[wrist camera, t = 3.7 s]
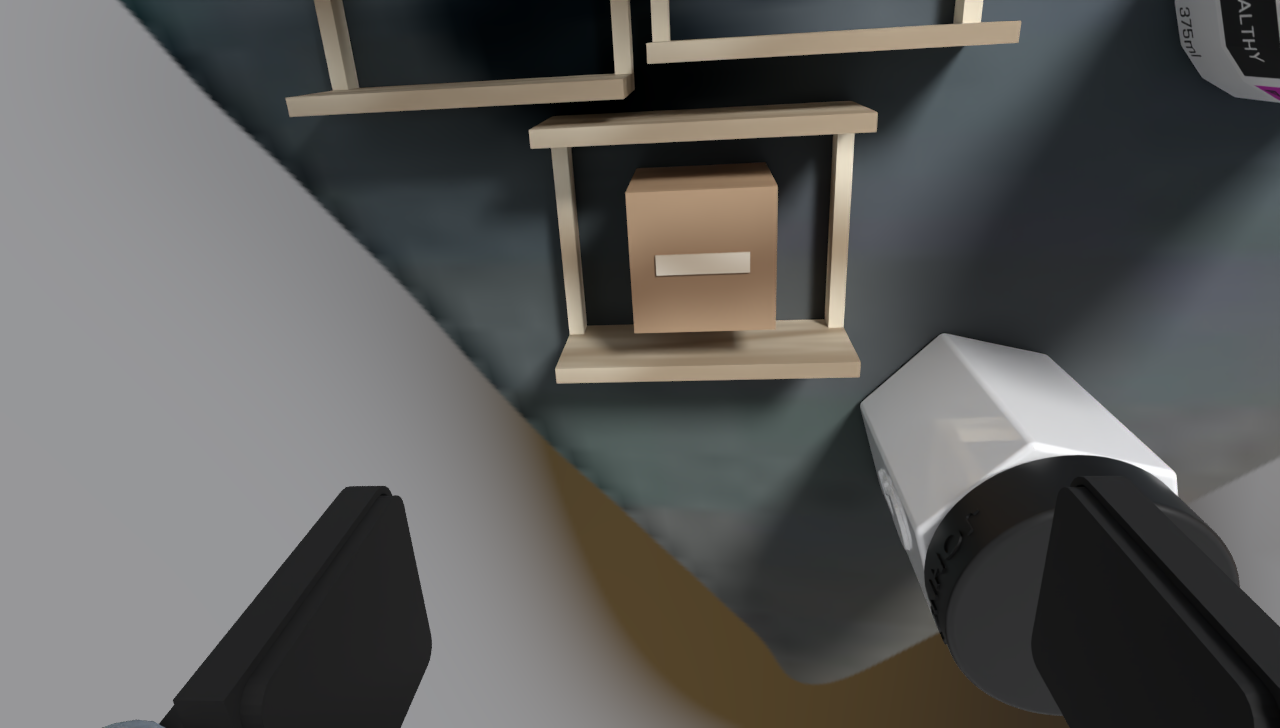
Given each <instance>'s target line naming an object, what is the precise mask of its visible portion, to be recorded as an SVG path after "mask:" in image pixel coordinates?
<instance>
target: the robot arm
mask: <svg viewBox="0 0 1280 728" xmlns="http://www.w3.org/2000/svg"><path fill="white" fill-rule="evenodd" d="M431 649H432V640H431V633H430V628H429V623H428V618H427V614H426V609H425V604H424V599H423V594H422V590H421V585H420V580H419V575H418V571H417V566H416V561H415V556H414V552H413V546H412V542H411V537H410V532H409V527H408V522H407V518H406V513H405V508H404V504H403V501H402V499H401V498H400V497H399V496H392V494H391V492H390V490H389V488H387V487H386V486H355V487H354V486H353V487H346V488H345V489H343V490H342V491H341V493H340V494H339V495H338V496H337V497H336V499H335V500H334V501H333V502H332V504H331V505H330V506H329V507H328V509H327V510H326V511H325V512H324V514H323V515H322V516H321V517H320V519H319V520H318V521H317V522H316V524H315V525H314V526H313V527H312V528H311V530H310V531H309V532H308V534H307V535H306V536H305V537H304V539H303V540H302V541H301V542H300V543H299V545H298V546H297V547H296V548H295V550H294V551H293V552H292V553H291V555H290V556H289V557H288V558H287V559H286V561H285V562H284V563H283V564H282V566H281V567H280V568H279V569H278V571H277V572H276V573H275V574H274V576H273V577H272V578H271V579H270V580H269V582H268V583H267V584H266V585H265V587H264V588H263V589H262V590H261V592H260V593H259V594H258V595H257V597H256V598H255V599H254V601H253V602H252V603H251V604H250V605H249V606H248V608H247V609H246V610H245V611H244V613H243V614H242V615H241V616H240V618H239V619H238V620H237V621H236V623H235V624H234V625H233V626H232V628H231V629H230V630H229V631H228V633H227V634H226V635H225V636H224V637H223V639H222V640H221V641H220V642H219V644H218V645H217V646H216V648H215V649H214V650H213V651H212V652H211V654H210V655H209V656H208V657H207V658H206V660H205V661H204V662H203V663H202V665H201V666H200V667H199V668H198V670H197V671H196V672H195V673H194V675H193V676H192V677H191V678H190V680H189V681H188V682H187V683H186V685H185V686H184V687H183V688H182V690H181V691H180V692H179V693H178V694H177V696H176V697H175V698H174V699H173V702H174V706H173V707H172V708H171V710H170V711H169V712H168V714H167V715H166V716H165V717H164V718H163V720H162V721H161V722H160V724H157V723H155V722H153V721H142V720H132V721H126V722H120V723H114V724H111V725H109V726H106V727H103V728H401V725H402V723H403V721H404V718H405V716H406V714H407V712H408V709H409V707H410V705H411V702H412V700H413V698H414V695H415V693H416V691H417V689H418V686H419V684H420V682H421V680H422V677H423V675H424V673H425V670H426V668H427V666H428V663H429V660H430V656H431ZM1031 650H1032V656H1033V660H1034V663H1035V665H1036V667H1037V670H1038V671H1039V673H1040V675H1041V677H1042V679H1043V680H1044V682H1045V684H1046V686H1047V688H1048V689H1049V691H1050V693H1051V695H1052V697H1053V698H1054V700H1055V702H1056V704H1057V705H1058V707H1059V709H1060V711H1061V713H1062V714H1063V716H1064V718H1065V720H1066V722H1067V723H1068V725H1069V727H1070V728H1280V627H1279V626H1278V625H1277V624H1276V623H1275V622H1274V621H1273V620H1272V619H1271V618H1270V617H1269V616H1268V615H1267V614H1266V613H1265V612H1264V611H1263V610H1262V609H1261V608H1260V607H1259V606H1258V605H1257V604H1256V603H1255V602H1254V601H1253V600H1252V599H1251V598H1250V597H1249V596H1248V595H1247V594H1246V593H1245V592H1243V591H1242V590H1241V589H1240V588H1239V587H1238V586H1237V585H1236V584H1235V583H1234V582H1233V581H1232V580H1231V579H1230V578H1229V577H1228V576H1227V575H1226V574H1225V573H1224V572H1223V571H1222V570H1221V569H1220V568H1219V567H1218V566H1217V565H1216V564H1215V563H1214V562H1213V561H1212V560H1211V559H1210V558H1209V557H1208V556H1207V555H1206V554H1205V553H1204V552H1203V551H1202V550H1201V549H1200V548H1199V547H1198V546H1197V545H1196V544H1195V543H1193V542H1192V541H1191V540H1190V539H1189V538H1188V537H1187V536H1186V535H1185V534H1184V533H1183V532H1182V531H1181V530H1180V529H1179V528H1178V527H1177V526H1176V525H1175V524H1174V523H1173V522H1172V521H1171V520H1170V519H1169V518H1168V517H1167V516H1166V515H1165V514H1164V513H1163V512H1162V511H1161V510H1160V509H1159V508H1158V507H1157V506H1156V505H1155V504H1154V503H1153V502H1152V501H1151V500H1150V499H1149V498H1148V497H1147V496H1145V495H1144V494H1143V493H1142V492H1141V491H1140V490H1139V489H1138V488H1137V487H1136V486H1135V485H1134V484H1133V483H1132V482H1131V481H1130V480H1129V479H1127V478H1126V477H1124V476H1078V477H1076V478H1075V479H1074V480H1073V481H1072V483H1071V485H1070V487H1063V488H1061V489H1060V491H1059V492H1058V496H1057V500H1056V505H1055V511H1054V516H1053V522H1052V527H1051V533H1050V538H1049V544H1048V549H1047V555H1046V560H1045V566H1044V571H1043V577H1042V582H1041V588H1040V593H1039V599H1038V604H1037V610H1036V615H1035V621H1034V626H1033V632H1032V638H1031Z"/></svg>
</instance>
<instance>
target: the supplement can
mask: <svg viewBox="0 0 1280 728" xmlns="http://www.w3.org/2000/svg"><path fill="white" fill-rule="evenodd" d="M1175 9H1176V15H1177V22H1178V29H1179V35H1180V42H1181V46H1182V48H1183V49H1184V51H1185V52H1186V54H1187V55H1188V57H1189V58H1190V60H1191V61H1192V63H1193V65H1194V66H1195V68H1196V69H1197V71H1198V72H1199V74H1200V75H1201V77H1202V78H1203V79H1205V80H1207V81H1208V82H1210V83H1212V84H1213V85H1215V86H1217V87H1218V88H1220V89H1222V90H1223V91H1225V92H1227V93H1229V94H1230V95H1232V96H1234V97H1236V98H1244V99H1253V100H1261V101H1269V102H1278V103H1280V0H1175Z"/></svg>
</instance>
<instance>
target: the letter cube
mask: <svg viewBox="0 0 1280 728" xmlns="http://www.w3.org/2000/svg"><path fill="white" fill-rule="evenodd" d="M625 197H626V212H627V228H628V243H629V261H630V273H631V289H632V304H633V319H634V333H668V332H705V331H741V330H776V275H777V215H778V185H777V183H776V182H775V180H774V178H773V176H772V174H771V172H770V170H769V168H768V166H767V164H766V162H760V163H739V164H718V165H697V166H676V167H655V168H636V171H635V173H634V175H633V177H632V179H631V182H630V184H629V186H628V188H627V190H626V193H625Z"/></svg>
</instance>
